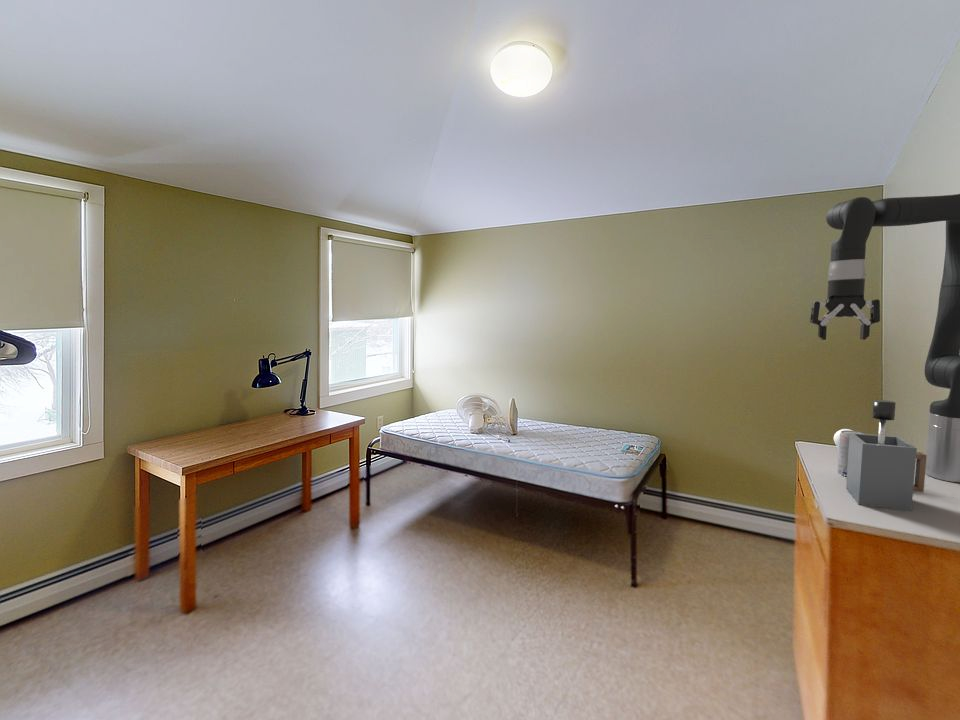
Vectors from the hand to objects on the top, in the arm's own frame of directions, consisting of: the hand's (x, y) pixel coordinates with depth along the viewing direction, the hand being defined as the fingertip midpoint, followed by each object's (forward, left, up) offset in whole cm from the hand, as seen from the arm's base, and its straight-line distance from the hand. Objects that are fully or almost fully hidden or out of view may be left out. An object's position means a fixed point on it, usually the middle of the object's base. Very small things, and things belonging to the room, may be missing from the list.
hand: (842, 339), depth 118 cm
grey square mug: (-7, +14, -38) cm, 41 cm away
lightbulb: (-5, -11, -38) cm, 40 cm away
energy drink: (-4, -3, -38) cm, 39 cm away
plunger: (-5, +14, -35) cm, 38 cm away
